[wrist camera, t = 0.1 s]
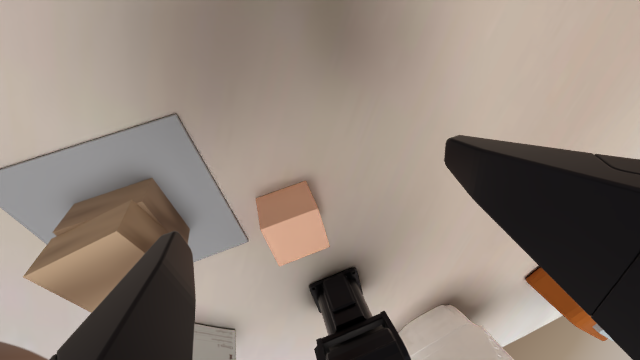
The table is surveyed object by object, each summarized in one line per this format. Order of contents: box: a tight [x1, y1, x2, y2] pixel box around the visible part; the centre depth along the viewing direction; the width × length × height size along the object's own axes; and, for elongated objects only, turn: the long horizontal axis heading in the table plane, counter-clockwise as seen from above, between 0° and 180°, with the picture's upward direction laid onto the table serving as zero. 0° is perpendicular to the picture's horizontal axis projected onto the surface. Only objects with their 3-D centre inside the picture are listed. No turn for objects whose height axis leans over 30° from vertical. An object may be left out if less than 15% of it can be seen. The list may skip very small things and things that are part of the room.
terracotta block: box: [256, 181, 330, 266], centre depth 25 cm, size 5×5×4 cm
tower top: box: [23, 200, 168, 313], centre depth 19 cm, size 6×6×3 cm
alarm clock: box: [526, 267, 614, 341], centre depth 53 cm, size 24×8×11 cm, turn 50°
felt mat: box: [0, 114, 248, 262], centre depth 23 cm, size 14×14×1 cm
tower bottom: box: [52, 178, 190, 244], centre depth 22 cm, size 6×6×3 cm
